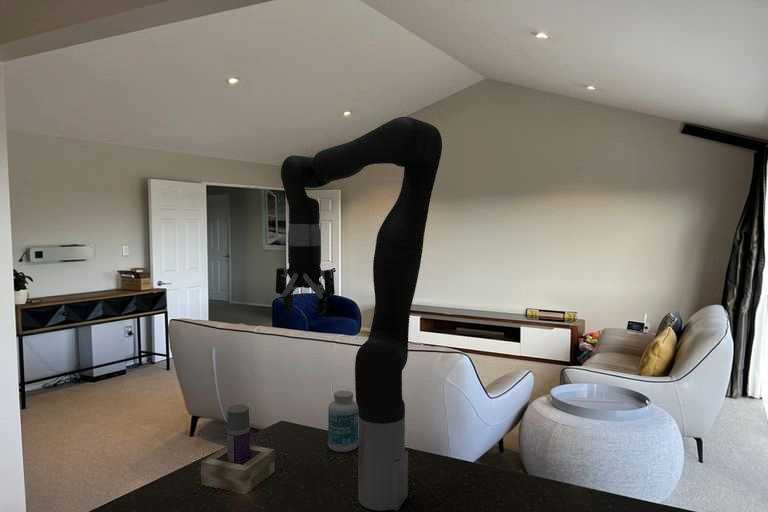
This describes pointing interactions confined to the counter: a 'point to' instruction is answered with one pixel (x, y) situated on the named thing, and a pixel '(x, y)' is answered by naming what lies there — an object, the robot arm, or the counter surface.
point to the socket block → (237, 470)
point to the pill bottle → (343, 422)
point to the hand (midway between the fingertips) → (304, 313)
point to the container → (238, 434)
